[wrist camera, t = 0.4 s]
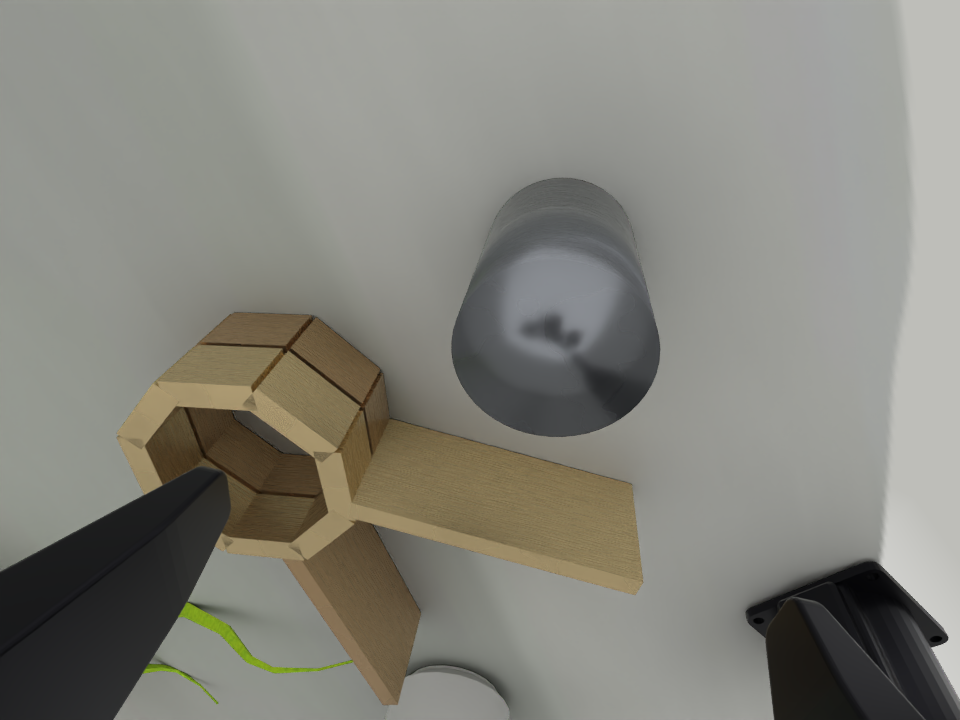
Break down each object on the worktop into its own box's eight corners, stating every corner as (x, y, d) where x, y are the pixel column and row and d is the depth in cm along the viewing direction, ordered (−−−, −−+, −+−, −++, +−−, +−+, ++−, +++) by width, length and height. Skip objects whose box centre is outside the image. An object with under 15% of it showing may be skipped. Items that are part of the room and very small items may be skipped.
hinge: (637, 489, 25) (650, 588, 20) (413, 617, 32) (389, 708, 28) (313, 205, 20) (243, 258, 16) (138, 433, 27) (60, 511, 23)
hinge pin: (665, 253, 19) (704, 362, 13) (556, 339, 21) (548, 465, 16) (563, 144, 18) (558, 212, 12) (459, 249, 20) (411, 350, 14)
